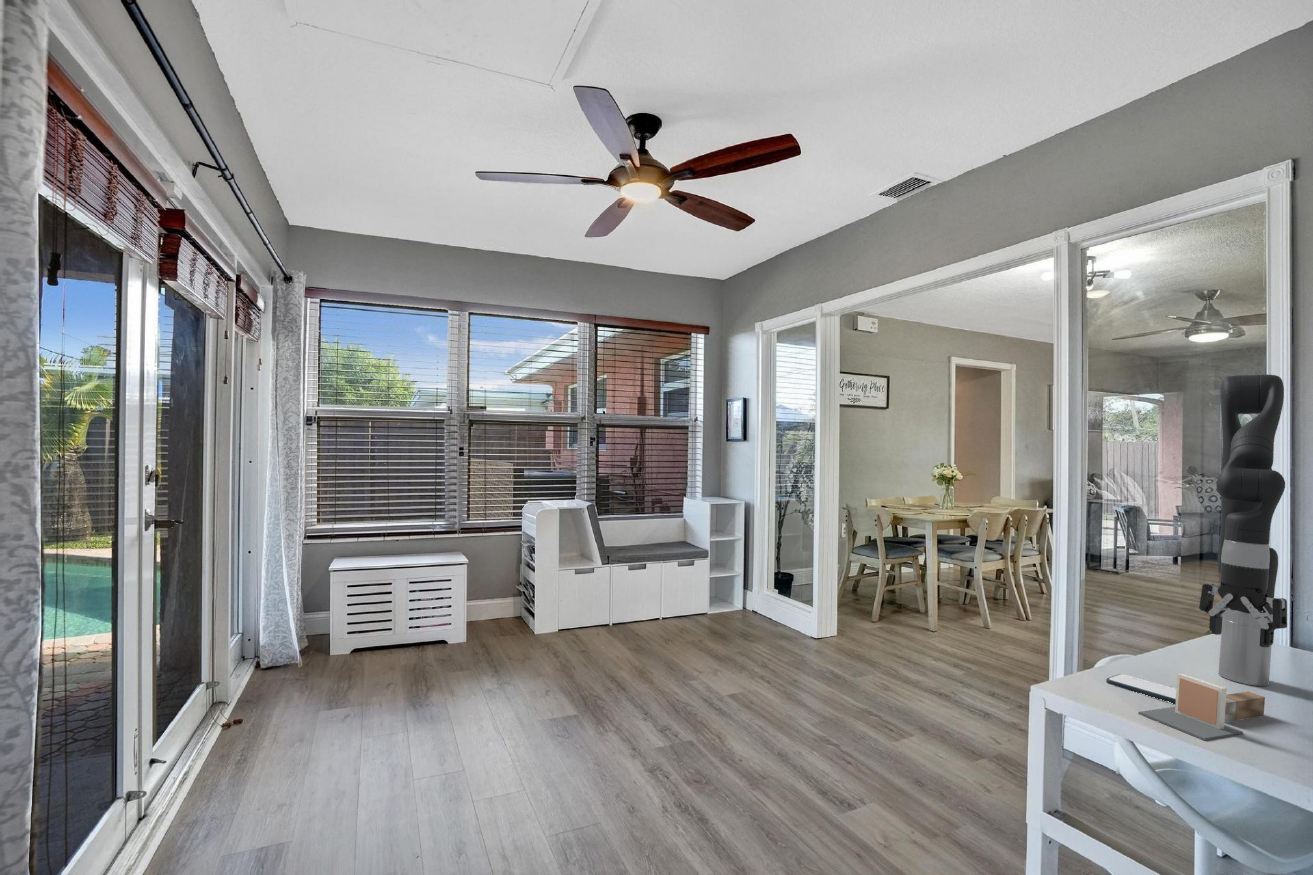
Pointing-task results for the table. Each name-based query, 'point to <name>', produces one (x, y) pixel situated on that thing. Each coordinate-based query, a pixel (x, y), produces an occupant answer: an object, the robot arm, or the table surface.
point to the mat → (1189, 724)
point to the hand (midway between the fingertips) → (1239, 640)
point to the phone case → (1143, 687)
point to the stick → (1243, 706)
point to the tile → (1201, 700)
